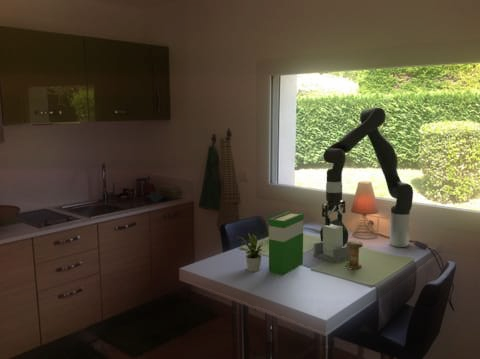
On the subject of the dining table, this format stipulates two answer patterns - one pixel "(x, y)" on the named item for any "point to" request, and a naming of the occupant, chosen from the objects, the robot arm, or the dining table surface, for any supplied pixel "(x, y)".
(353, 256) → the bobbin
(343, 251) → the notch cradle
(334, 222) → the squash
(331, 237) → the skincare box
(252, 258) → the house plant
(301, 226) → the hardback book
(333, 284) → the dining table surface
